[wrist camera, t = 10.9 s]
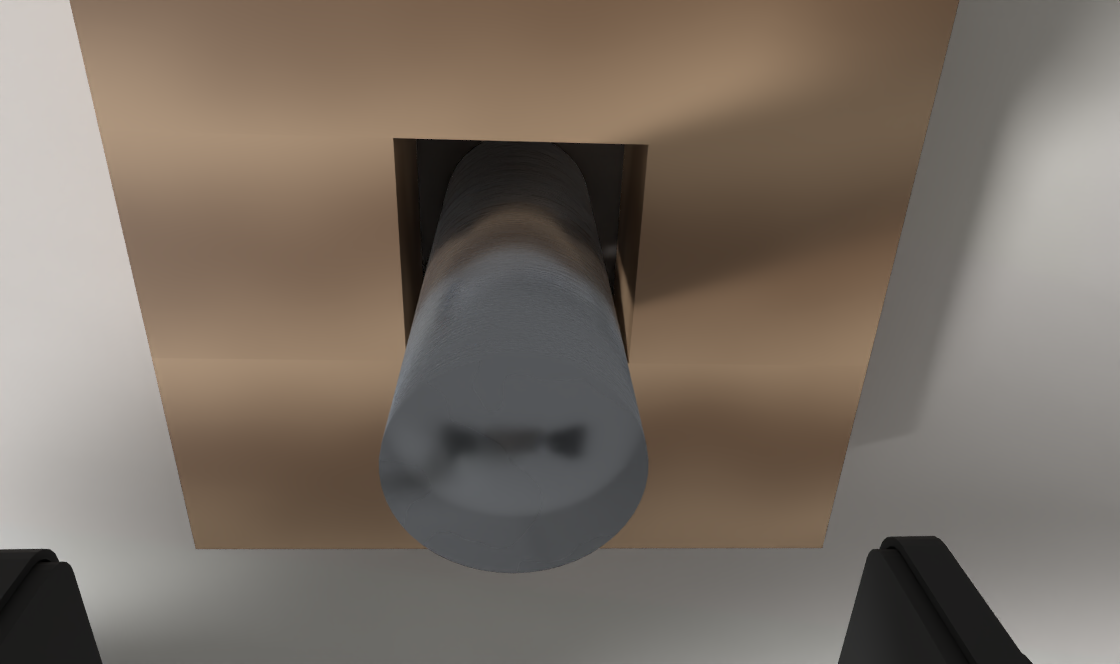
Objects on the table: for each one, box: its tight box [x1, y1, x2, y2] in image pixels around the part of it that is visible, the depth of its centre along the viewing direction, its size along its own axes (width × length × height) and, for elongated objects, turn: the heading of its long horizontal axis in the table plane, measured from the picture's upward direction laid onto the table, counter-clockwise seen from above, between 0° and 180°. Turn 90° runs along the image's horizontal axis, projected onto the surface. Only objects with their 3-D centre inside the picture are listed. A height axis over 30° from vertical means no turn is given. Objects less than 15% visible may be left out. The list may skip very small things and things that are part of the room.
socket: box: [70, 0, 959, 549], centre depth 21 cm, size 18×18×4 cm
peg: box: [379, 140, 649, 573], centre depth 17 cm, size 4×4×12 cm
